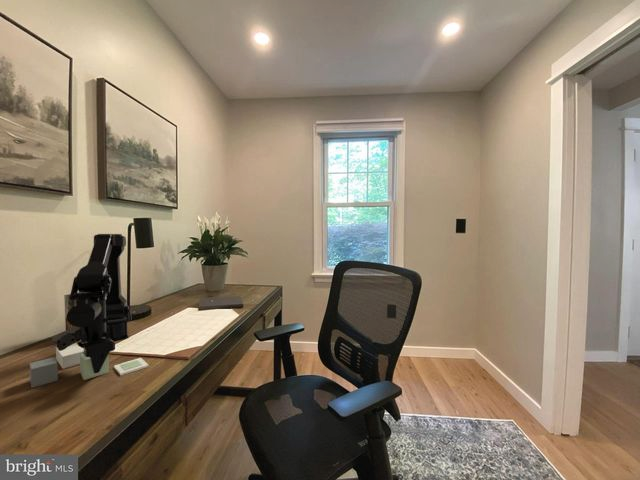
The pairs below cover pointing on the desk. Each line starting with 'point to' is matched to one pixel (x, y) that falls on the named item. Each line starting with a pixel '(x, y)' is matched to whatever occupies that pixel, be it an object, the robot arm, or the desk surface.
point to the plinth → (69, 355)
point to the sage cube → (87, 367)
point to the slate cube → (43, 372)
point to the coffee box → (69, 305)
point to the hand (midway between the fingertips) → (94, 369)
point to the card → (130, 366)
